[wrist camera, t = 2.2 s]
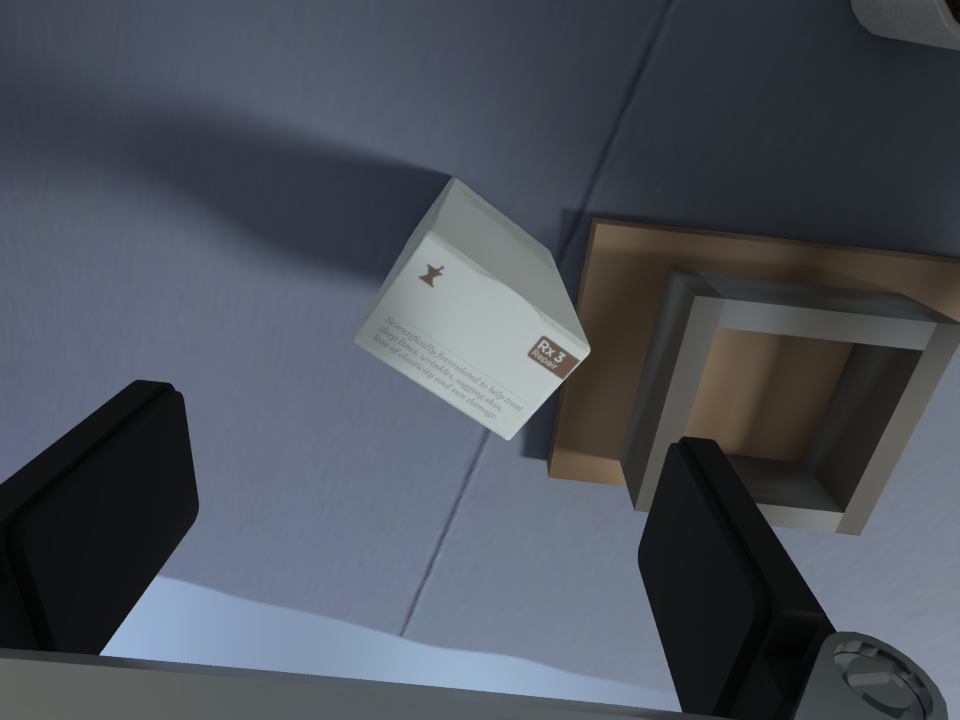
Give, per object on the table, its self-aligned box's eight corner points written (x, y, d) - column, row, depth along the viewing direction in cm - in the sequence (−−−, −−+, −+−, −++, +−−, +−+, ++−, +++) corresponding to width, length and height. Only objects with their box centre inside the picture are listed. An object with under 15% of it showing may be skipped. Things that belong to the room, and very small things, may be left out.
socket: (972, 259, 26) (1081, 298, 21) (855, 495, 32) (919, 568, 27) (592, 217, 26) (612, 245, 21) (546, 461, 32) (553, 527, 27)
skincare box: (403, 246, 27) (332, 346, 16) (456, 168, 25) (417, 222, 15) (504, 317, 28) (501, 455, 18) (560, 248, 27) (596, 352, 16)
